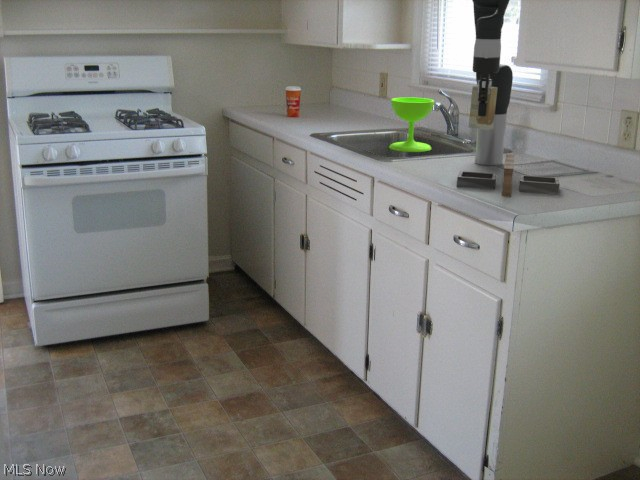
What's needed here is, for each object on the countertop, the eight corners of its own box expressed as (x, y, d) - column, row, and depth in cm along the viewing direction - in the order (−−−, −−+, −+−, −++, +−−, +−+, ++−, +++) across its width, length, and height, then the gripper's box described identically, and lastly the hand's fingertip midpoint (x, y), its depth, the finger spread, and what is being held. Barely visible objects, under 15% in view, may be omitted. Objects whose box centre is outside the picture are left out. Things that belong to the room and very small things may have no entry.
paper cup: (283, 117, 353) (283, 87, 349) (287, 114, 360) (287, 85, 356) (298, 117, 352) (299, 88, 347) (303, 115, 359) (303, 86, 354)
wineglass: (419, 153, 270) (421, 103, 264) (381, 148, 278) (383, 100, 273) (438, 147, 282) (441, 99, 277) (401, 142, 291) (404, 96, 285)
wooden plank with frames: (461, 175, 235) (462, 150, 233) (556, 181, 228) (559, 156, 226) (454, 192, 213) (456, 165, 210) (559, 200, 206) (562, 172, 204)
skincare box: (468, 128, 218) (470, 86, 214) (474, 126, 221) (477, 85, 217) (488, 130, 214) (491, 87, 210) (494, 128, 217) (498, 86, 214)
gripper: (475, 53, 219) (470, 110, 224) (471, 56, 205) (467, 117, 211) (501, 54, 217) (496, 112, 222) (499, 57, 204) (494, 118, 209)
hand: (482, 114), depth 216 cm, fingers closed on skincare box, 5 cm apart
